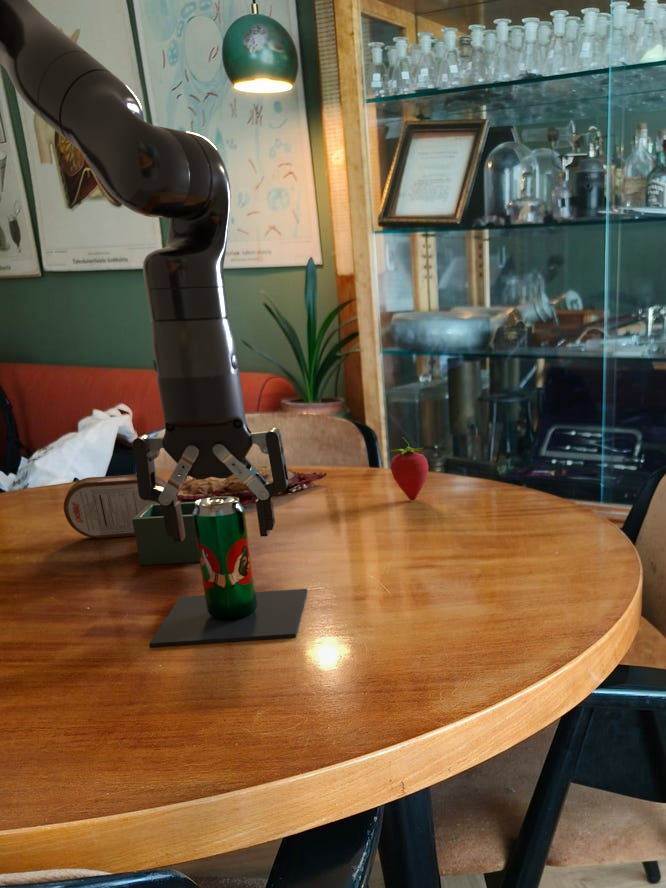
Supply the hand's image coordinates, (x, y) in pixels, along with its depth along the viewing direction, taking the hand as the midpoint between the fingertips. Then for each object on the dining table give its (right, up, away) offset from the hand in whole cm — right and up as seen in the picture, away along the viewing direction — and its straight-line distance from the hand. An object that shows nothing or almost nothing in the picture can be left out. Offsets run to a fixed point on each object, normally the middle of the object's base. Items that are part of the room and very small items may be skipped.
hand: (222, 537), depth 89 cm
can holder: (-13, +1, +26) cm, 30 cm away
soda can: (0, -8, +3) cm, 8 cm away
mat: (0, -8, +3) cm, 9 cm away
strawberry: (+15, +12, +51) cm, 55 cm away
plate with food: (-17, +14, +61) cm, 65 cm away
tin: (-24, +4, +37) cm, 44 cm away
